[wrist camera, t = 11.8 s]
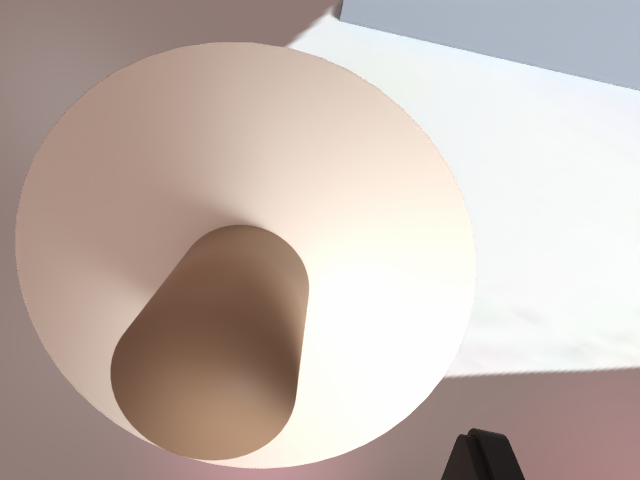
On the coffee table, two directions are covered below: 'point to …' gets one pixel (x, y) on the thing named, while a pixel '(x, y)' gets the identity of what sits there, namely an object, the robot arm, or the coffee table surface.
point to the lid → (245, 255)
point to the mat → (521, 31)
